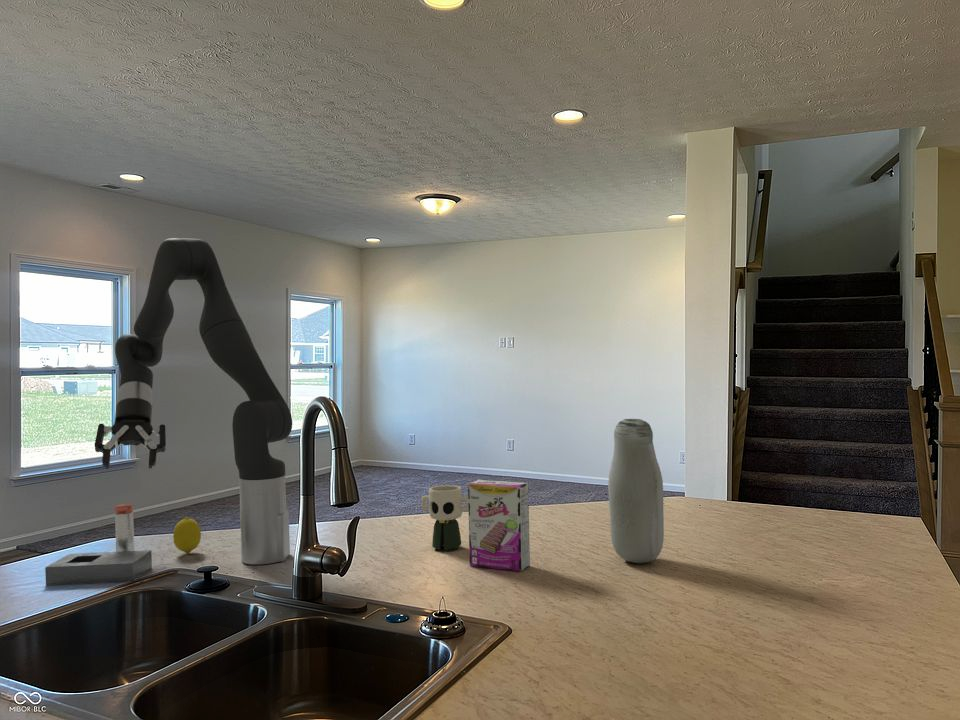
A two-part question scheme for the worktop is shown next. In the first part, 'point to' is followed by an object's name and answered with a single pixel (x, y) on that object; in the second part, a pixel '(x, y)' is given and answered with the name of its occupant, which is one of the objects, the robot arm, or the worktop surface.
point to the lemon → (187, 535)
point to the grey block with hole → (98, 567)
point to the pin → (124, 527)
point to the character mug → (445, 514)
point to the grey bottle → (635, 493)
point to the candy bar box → (499, 525)
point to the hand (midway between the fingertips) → (129, 466)
